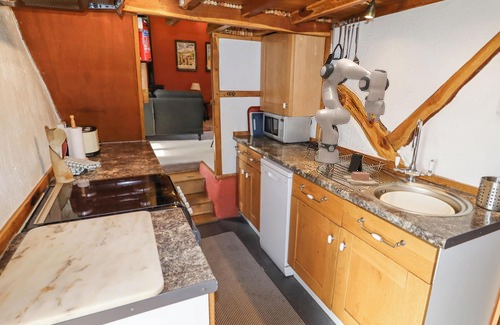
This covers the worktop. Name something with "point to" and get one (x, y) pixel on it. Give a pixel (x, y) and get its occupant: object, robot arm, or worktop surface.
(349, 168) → the door stopper
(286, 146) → the worktop surface
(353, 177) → the terracotta block
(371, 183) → the ash board
